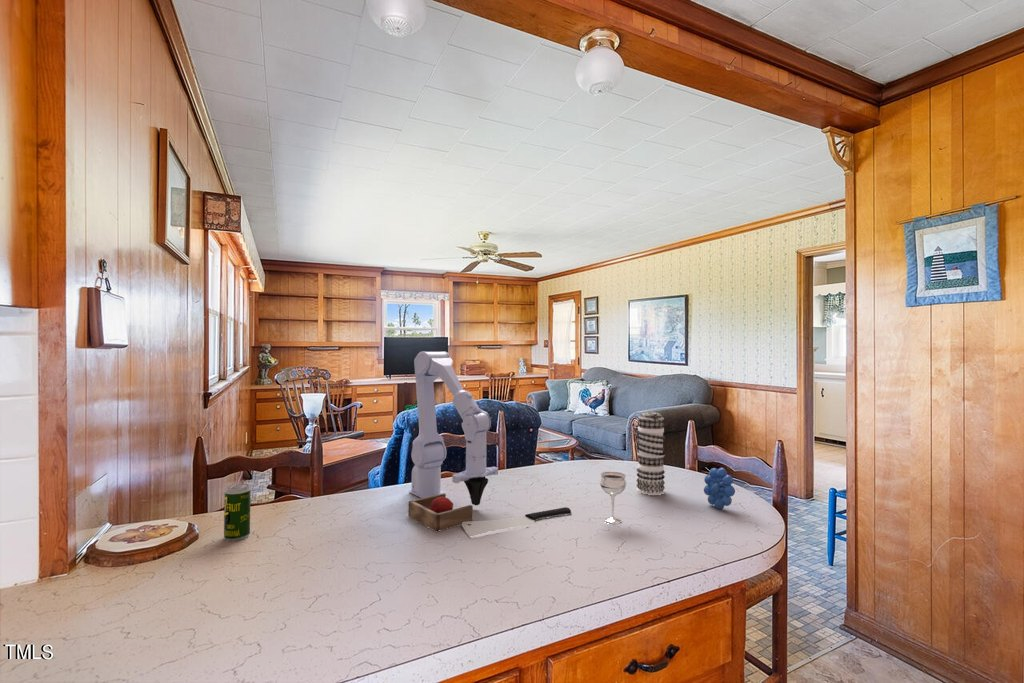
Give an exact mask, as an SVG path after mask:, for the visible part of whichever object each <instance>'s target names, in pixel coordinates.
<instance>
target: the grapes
mask: <svg viewBox="0 0 1024 683" xmlns="http://www.w3.org/2000/svg"><path fill="white" fill-rule="evenodd" d="M708 473H709V474H707V475H705V476H704V480H703V481H704V483H705V484H706V485H705V486H704V488H703V492H704V494H705V495H706V496H707V502H708V503H709V504H710V505H712V506H713V505H714V507H715V508H716V509H718V510H723V509H724V507H729V506H730V505H731V504H732V503H733V502H732V500H733V499H732V497H733V496H734V495H735V493H736V489H735V487H734V486H733V482H734V478H733V477H732V475H730V474H728V472H727V470H726V469H725V467H719V468H717V467H713V468H711V469H710V470H709V472H708Z"/></svg>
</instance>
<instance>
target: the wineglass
mask: <svg viewBox="0 0 1024 683" xmlns="http://www.w3.org/2000/svg"><path fill="white" fill-rule="evenodd" d="M599 475H600V477H601V478H600V479H599V484H600V487H601V489H602V490H603V492H604V493H606V494H608V495H609V496H610V497H611V498H610V499H611V516H608V518H607V517H604V518H605V521H607V522H610V523H616V522H617V523H618V522H620V521H621V520H622V519H621V518H619V517H614V516H615V515H614V514H615V512H614V511H615V509H614V508H615V497H617V496H618V495H620V494H621V493H623V492H624V491H625V490H626V486H627V481H626V479H625V478H626V477H627V476H626V474H624V473H622V472H618V471H603V472H601V473H600V474H599ZM618 518H619V519H618ZM620 519H621V520H620Z"/></svg>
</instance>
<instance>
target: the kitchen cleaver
mask: <svg viewBox="0 0 1024 683" xmlns="http://www.w3.org/2000/svg"><path fill="white" fill-rule="evenodd" d="M571 510H572V509H570V508H569V507H567V506H566V507H560V508H554V509H550V510H549V509H548V510H543V511H541V510H540V511H536V512H532V513H527V514H525V515H523V516H522V515H521V516H516V517H509V518H508V517H507V518H501V519H492V520H474V521H473V520H472V521H466V522H462V525H461V527H462V529H463V530H464V531H465V533H466V535H467V536H468V537H469V538H470V536H474V535H478V534H482V533H486V532H488V531H495V530H497V529H499V530H500V529H505V528H509V527H516V526H522V525H525V526H526V525H532V524H537V523H536V520H537V521H539V520H538V519H540V520H543V519H542V518H545V519H548V518H547V517H551V518H554V517H553V516H557V517H560V516H559V515H563V516H566V515H565V514H571V515H572V511H571Z"/></svg>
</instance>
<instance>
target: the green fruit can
mask: <svg viewBox="0 0 1024 683" xmlns="http://www.w3.org/2000/svg"><path fill="white" fill-rule="evenodd" d="M251 490H252V489H251V486H250V484H249V483H235V484H230V485H228V486H226V487H225V491H224V500H223V501H224V506H223V508H224V509H223V512H224V514H223V518H224V519H223V538H224V540H225V541H226V540H227V542H231V541H232V542H239V541H243V540H245V539H247V538H248V537H249V536H250V535H251V534H250V533H251V497H252V496H251V492H252V491H251Z"/></svg>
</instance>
